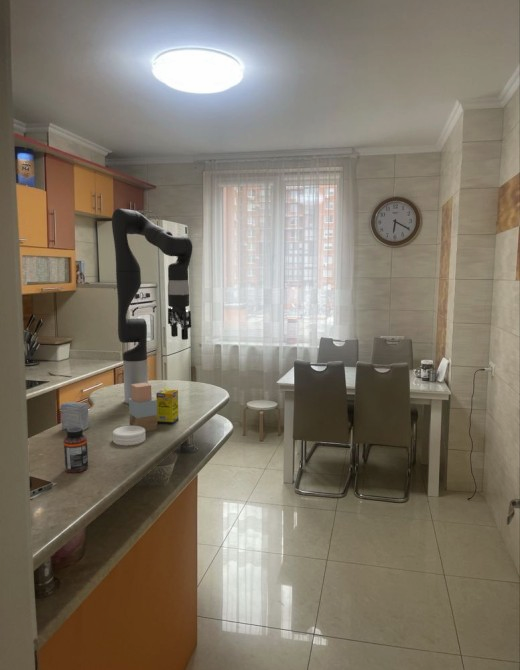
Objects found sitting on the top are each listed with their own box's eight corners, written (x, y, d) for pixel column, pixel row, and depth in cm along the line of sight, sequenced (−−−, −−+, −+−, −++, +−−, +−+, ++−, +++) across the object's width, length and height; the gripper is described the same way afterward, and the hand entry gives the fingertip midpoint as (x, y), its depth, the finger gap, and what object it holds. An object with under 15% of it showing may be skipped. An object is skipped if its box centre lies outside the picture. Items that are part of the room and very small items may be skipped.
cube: (131, 398, 177) (131, 384, 177) (145, 396, 180) (145, 382, 179) (137, 402, 173) (136, 387, 173) (151, 399, 176) (151, 385, 175)
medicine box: (89, 428, 178) (88, 403, 177) (81, 432, 174) (80, 406, 173) (70, 425, 181) (69, 401, 180) (61, 429, 177) (60, 404, 175)
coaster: (106, 443, 164) (105, 432, 163) (126, 433, 173) (125, 423, 172) (133, 448, 160) (132, 437, 159) (151, 438, 169) (151, 427, 169)
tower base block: (129, 427, 179) (129, 413, 178) (149, 423, 183) (148, 409, 182) (137, 433, 173) (136, 418, 172) (157, 429, 177) (156, 414, 176)
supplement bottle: (68, 465, 146) (66, 425, 145) (90, 464, 147) (88, 425, 145) (62, 473, 141) (60, 433, 139) (85, 473, 141) (83, 432, 139)
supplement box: (173, 424, 182) (172, 393, 180) (156, 423, 183) (155, 392, 181) (179, 419, 188) (178, 389, 186) (163, 418, 189) (162, 388, 187)
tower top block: (129, 413, 178) (128, 398, 178) (149, 409, 182) (148, 395, 181) (136, 418, 173) (136, 403, 172) (157, 414, 176) (156, 400, 176)
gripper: (160, 292, 192) (161, 336, 194) (177, 294, 180) (178, 341, 183) (179, 291, 196) (180, 334, 198) (197, 293, 184) (198, 339, 187)
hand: (179, 338), depth 190 cm, fingers open, 8 cm apart
